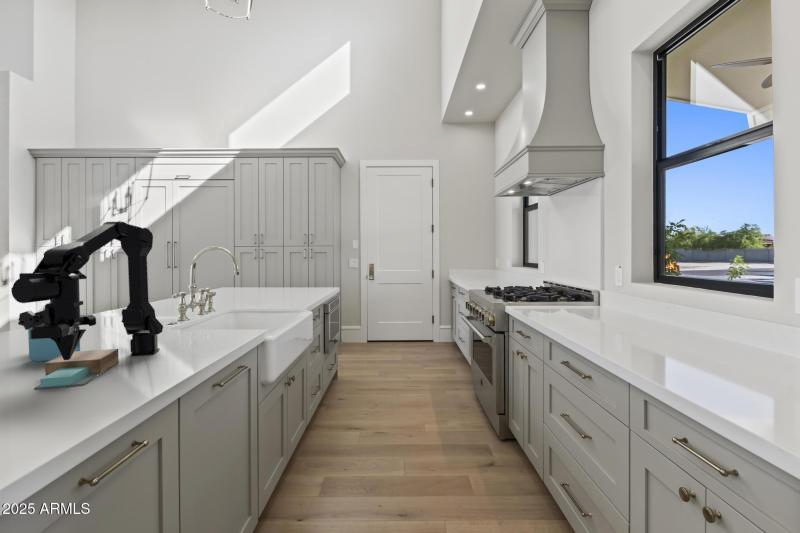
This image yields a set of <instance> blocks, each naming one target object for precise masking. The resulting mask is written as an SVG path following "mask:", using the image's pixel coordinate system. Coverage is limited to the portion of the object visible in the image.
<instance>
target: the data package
mask: <svg viewBox="0 0 800 533" xmlns="http://www.w3.org/2000/svg"><path fill="white" fill-rule="evenodd" d="M78 327H80V325H78ZM31 329H32V328H30V329H28V330H27V332H28V334H27V336H28V338H27V339H28V356H29V359H30V360H31V361H33V362H48V361H51V360H53V359H55V358H57V357H59V356H61V353H60V351H59V348H58V346H57V345H56V343H55V341H54V340H52V339H50V338H44V339H30V330H31ZM75 351H81V340H80V341H79V343H78V345H77V347H76V349H75Z"/></svg>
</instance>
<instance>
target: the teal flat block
mask: <svg viewBox="0 0 800 533" xmlns="http://www.w3.org/2000/svg"><path fill="white" fill-rule="evenodd" d="M88 374H89V367H88V366H85V367H70V368H60V369H59V370H57V371H55V372H53V373H51V374H49V375H47V376H46V375H45V376H43V377H41V378H40V381H39V382H40V383H39V385H40V386H41V387H49V386H62V385H71V384H73V383H74V382H76V381H78V380H79V379H81V378H83V377H84V376H86V375H88Z"/></svg>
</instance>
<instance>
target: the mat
mask: <svg viewBox="0 0 800 533" xmlns="http://www.w3.org/2000/svg"><path fill="white" fill-rule="evenodd" d="M99 374H100V373H91V374H88V375H86V376H84V377H83V378H81V379H79V380H78V381H76V382H74V383H73V384H71V385H62V386H49V387H41V386H40V384H39V385H37V386H34V388H33V390H43V389H53V388H65V387H66V386H68V387H77V386H76V385H80V386H85V385H87V384H88V383H90V382H91V381H93V380H94V379H96V378H97V377H98V376H97V375H99ZM100 375H101V374H100ZM100 375H99V376H100ZM96 376H97V377H96ZM95 377H96V378H95ZM93 378H94V379H93ZM92 379H93V380H92ZM90 380H91V381H90ZM89 381H90V382H89ZM87 382H88V383H87ZM86 383H87V384H86ZM66 388H67V387H66Z"/></svg>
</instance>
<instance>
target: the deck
mask: <svg viewBox="0 0 800 533" xmlns="http://www.w3.org/2000/svg"><path fill="white" fill-rule="evenodd" d="M119 360H120V359H119V348H107V349H91V350H80V351H74V353H73V355H72V357H71V359H69V360H64V359H63V357H62V355H61V356H59V357H57V358H55V359H53V360H51V361H45V363H44V366H45V368H44V369H45V376H47V375H49V374H51V373H53V372H55V371H57V370H59V369H60V368H70V367H85V366H88V367H89V374H91V373H102V372H103V371H105V370H106V369H108V368H109V367H111V366H112V367H114V366H115V365H116V363H117V364H119V362H120V361H119ZM114 364H115V365H114ZM113 365H114V366H113ZM112 367H111V368H112ZM109 369H110V368H109ZM109 369H108V370H109ZM106 371H107V370H106ZM106 371H105V372H106ZM103 373H104V372H103ZM103 373H102V374H103Z"/></svg>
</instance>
